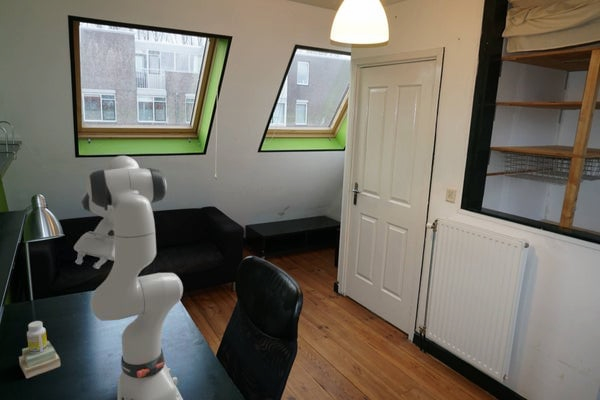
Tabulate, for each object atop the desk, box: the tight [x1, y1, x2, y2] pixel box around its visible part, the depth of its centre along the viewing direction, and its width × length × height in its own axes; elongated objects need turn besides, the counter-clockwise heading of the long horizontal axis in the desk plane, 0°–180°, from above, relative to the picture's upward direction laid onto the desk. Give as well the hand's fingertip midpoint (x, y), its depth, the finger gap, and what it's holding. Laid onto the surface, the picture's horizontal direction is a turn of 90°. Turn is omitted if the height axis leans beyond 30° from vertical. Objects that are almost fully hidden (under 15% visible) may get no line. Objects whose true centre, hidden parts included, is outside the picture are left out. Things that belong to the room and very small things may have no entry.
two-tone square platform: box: [18, 340, 61, 379], centre depth 140 cm, size 10×10×6 cm
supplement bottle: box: [26, 320, 48, 354], centre depth 138 cm, size 5×5×10 cm
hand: (86, 265), depth 153 cm, fingers open, 8 cm apart
